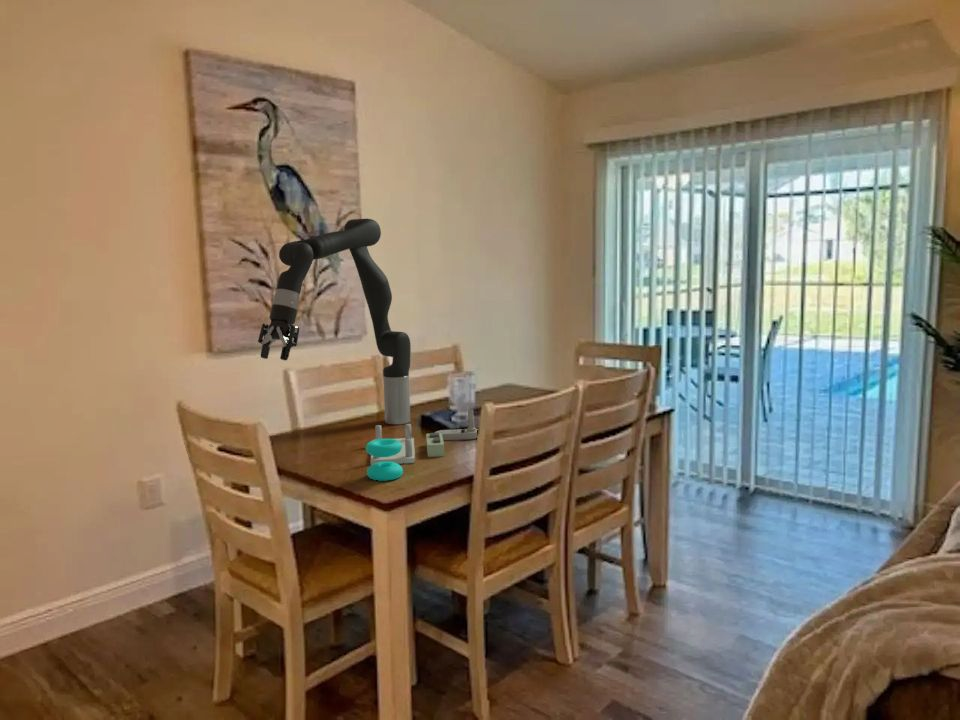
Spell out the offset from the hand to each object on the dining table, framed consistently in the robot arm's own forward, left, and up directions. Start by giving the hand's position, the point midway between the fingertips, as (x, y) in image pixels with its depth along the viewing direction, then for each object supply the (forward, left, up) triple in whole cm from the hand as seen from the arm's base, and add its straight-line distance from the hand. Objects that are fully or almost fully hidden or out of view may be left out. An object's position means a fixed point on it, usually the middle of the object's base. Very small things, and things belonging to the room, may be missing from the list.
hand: (273, 359), depth 223 cm
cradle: (-2, +34, -31) cm, 46 cm away
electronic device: (-17, +55, -32) cm, 66 cm away
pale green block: (-3, +47, -31) cm, 57 cm away
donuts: (+22, +32, -31) cm, 50 cm away
